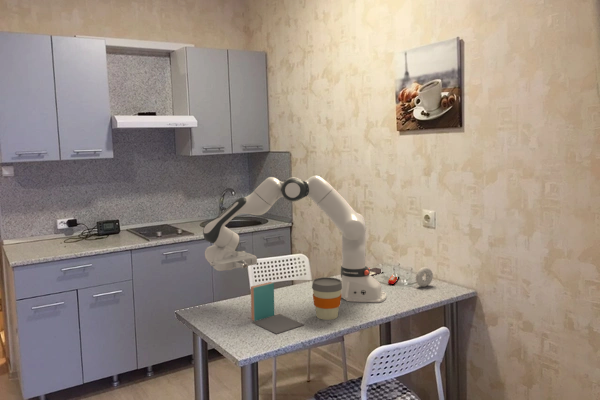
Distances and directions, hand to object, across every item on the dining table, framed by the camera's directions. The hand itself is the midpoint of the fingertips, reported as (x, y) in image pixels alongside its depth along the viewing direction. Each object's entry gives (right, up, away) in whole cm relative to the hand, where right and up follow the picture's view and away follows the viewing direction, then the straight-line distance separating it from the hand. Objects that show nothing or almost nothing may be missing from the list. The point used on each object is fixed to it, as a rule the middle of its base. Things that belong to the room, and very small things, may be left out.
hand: (245, 266), depth 217 cm
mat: (+15, -22, -15) cm, 30 cm away
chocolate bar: (+63, -12, +60) cm, 88 cm away
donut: (+86, -15, +34) cm, 93 cm away
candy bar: (+73, -14, +44) cm, 86 cm away
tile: (+8, -21, -7) cm, 23 cm away
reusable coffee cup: (+35, -20, -6) cm, 41 cm away
